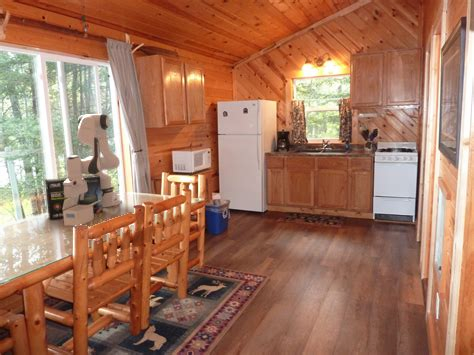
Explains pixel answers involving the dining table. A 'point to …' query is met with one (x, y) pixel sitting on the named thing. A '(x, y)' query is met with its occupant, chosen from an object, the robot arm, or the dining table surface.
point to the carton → (78, 215)
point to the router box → (57, 198)
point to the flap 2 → (90, 205)
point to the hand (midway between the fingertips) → (77, 201)
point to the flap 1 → (68, 202)
